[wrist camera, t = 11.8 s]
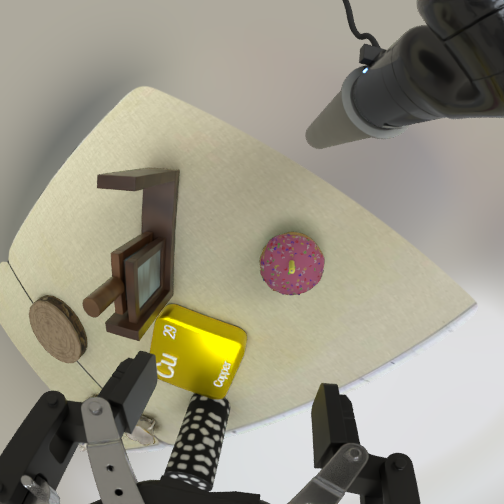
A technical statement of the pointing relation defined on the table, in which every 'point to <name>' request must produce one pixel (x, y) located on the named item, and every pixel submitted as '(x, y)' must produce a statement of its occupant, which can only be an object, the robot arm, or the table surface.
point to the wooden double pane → (147, 248)
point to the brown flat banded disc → (58, 329)
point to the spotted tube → (199, 442)
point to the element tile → (196, 351)
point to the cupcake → (291, 263)
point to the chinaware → (137, 433)
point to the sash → (116, 279)
